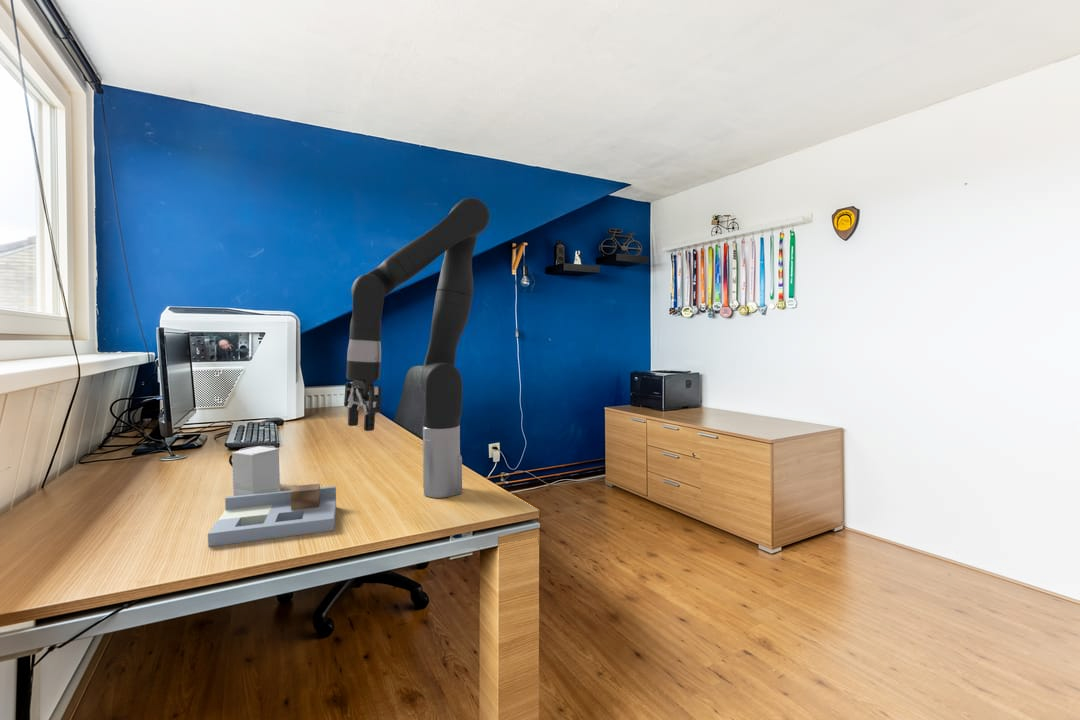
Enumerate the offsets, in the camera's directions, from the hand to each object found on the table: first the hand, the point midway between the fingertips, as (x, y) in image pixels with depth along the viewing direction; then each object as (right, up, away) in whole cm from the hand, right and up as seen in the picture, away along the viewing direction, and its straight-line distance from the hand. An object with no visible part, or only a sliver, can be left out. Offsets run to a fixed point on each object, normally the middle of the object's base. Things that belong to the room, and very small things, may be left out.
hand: (360, 428), depth 116 cm
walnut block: (-9, -16, -8) cm, 20 cm away
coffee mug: (-34, -18, +15) cm, 41 cm away
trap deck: (-13, -19, -12) cm, 26 cm away
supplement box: (-26, -18, +2) cm, 32 cm away
